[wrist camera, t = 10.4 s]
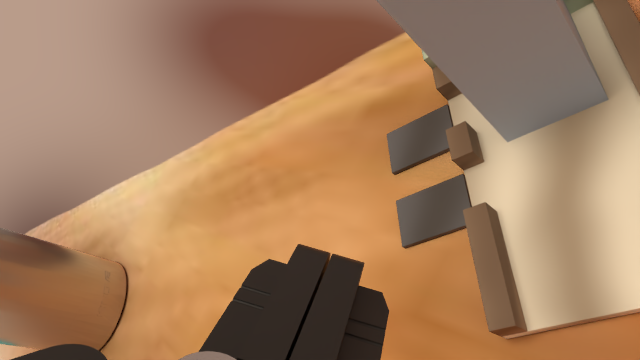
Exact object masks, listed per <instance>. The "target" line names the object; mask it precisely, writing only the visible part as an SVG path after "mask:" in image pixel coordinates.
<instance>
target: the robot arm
mask: <svg viewBox="0 0 640 360" xmlns="http://www.w3.org/2000/svg"><path fill="white" fill-rule="evenodd" d="M329 260H330V261H329ZM363 267H364V263H363V262H360V261H356V260H353V259H350V258H346V257H343V256H339V255H336V254H332V256H331V258H330V253H328V252H325V251H322V250H318V249H315V248H311V247H308V246H304V245H301V244H298V245H297V247H296V249H295V251H294V252H293V254H292V256H291V258H290V260H289V262H288V264H284V263H281V262H278V261H274V260H271V259H268V260H267V261H265V262H263V263H262V264H260V265H258V266H257V267H255V268H253V269H252V270H251V271H250V273H249V274H248V276H247V278H246V279H245V281H244V282H243V284H242V286H241V288H239V290H238V291H237V293H236V295H235V296H234V298H233V301H231V302H230V304H229V305H228V307H227V309H226V310H225V312H224V313H223V315H222V316H221V318H220V319H219V321H218V323H217V324H216V326H215V327H214V329H213V330H212V332H211V333H210V335H209V337H208V338H207V340H206V341H205V343H204V344H203V346H202V347H201V349H200V350H199V352H197V353H192V354H190V355H187V356H185V357H183V358H181V359H179V360H380V359H381V353H382V346H383V342H384V336H385V330H386V325H387V319H388V314H389V310H388V307H387V304H386V302H385V299H384V296H383V293H382V292H379V291H375V290H372V289H369V288H365V287H362V286H359V282H360V278H361V274H362V271H363ZM125 295H126V275H125V271H124V269H123V266H122V265H121V264H120V263H118V262H114V261H111V260H108V259H104V258H101V257H97V256H94V255H91V254H87V253H84V252H81V251H78V250H75V249H71V248H68V247H64V246H61V245H57V244H54V243H51V242H47V241H44V240H40V239H37V238H34V237H30V236H27V235H23V234H20V233H16V232H13V231H9V230H6V229H3V228H0V344H6V345H13V346H20V347H26V348H33V349H40V350H39V351H36V352H33V353H30V354H27V355H24V356H21V357H17V358H14V359H11V360H107V359H106V357H105V356H104V355H103V354H102V353H101V352H100V351H99V350H100V349H101V347H102V346H103V345H104V344H105V343H106V342H107V340H108V339H109V337H110V336H111V334H112V332H113V330H114V329H115V327H116V324H117V322H118V320H119V318H120V315H121V312H122V308H123V305H124V300H125Z"/></svg>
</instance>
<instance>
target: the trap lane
mask: <svg viewBox="0 0 640 360" xmlns="http://www.w3.org/2000/svg"><path fill="white" fill-rule="evenodd" d="M563 1H564V2H565V4H566V6H567V8H568V10H569V12H570V14H571V16H572V19H573V21H574V23H575V25H576V27H577V30H578V32H579V34H580V36H581V39H582V41H583V43H584V45H585V48H586V50H587V52H588V54H589V57H590V59H591V61H592V63H593V65H594V68H595V70H596V72H597V74H598V77H599V79H600V81H601V83H602V86H603V88H604V90H605V92H606V95H607V97H608V99H609V100H607V101H605V102H602V103H600V104H597V105H595V106H593V107H590V108H588V109H586V110H583V111H581V112H578V113H576V114H574V115H571V116H569V117H566V118H564V119H562V120H559V121H557V122H555V123H552V124H550V125H547V126H545V127H543V128H540V129H538V130H535V131H533V132H531V133H528V134H526V135H524V136H521V137H519V138H516V139H514V140H512V141H509V142H507V141H506V140H505V139H504V138H503V137H502V136H501V135H500V134H499V133H498V132H497V130H496V129H495V128H494V127H493V126H492V125H491V124H490V123H489V122H488V121H487V120H486V119H485V117H484V116H483V115H482V114H481V113H480V112H479V111H478V110H477V109H476V108H475V107H474V106H473V104H472V103H471V102H470V101H469V100H468V99H467V98H466V97H465V96H464V95H463V94H462V93H461V91H460V90H459V89H458V88H457V87H456V86H455V85H454V84H453V83H452V82H451V81H450V80H449V78H448V77H447V76H446V75H445V74H444V73H443V72H442V71H441V70H440V69H439V68H438V67H437V65H436V64H435V63H434V62H433V61H432V60H431V59H430V58H429V57H428V56H427V55H426V54H425V52H424V51H423V50H422V54H423V59H424V61H425V62H426V63H427V64H428V65H429V66H430V67H431V68H432V70H433V75H434V80H435V84H436V89H437V90H438V91H439V92H440V93H441V94H442V95H443V96H444V97H445V98H446V99H447V100H448V103H449V106H448V105H445V106H443V107H441V108H439V109H437V110H435V111H433V112H431V113H429V114H427V115H425V116H423V117H421V118H419V119H417V120H414V121H412V122H410V123H408V124H406V125H404V126H402V127H400V128H398V129H396V130H394V131H392V132H390V133H388V134H387V140H388V147H389V154H390V161H391V168H392V173H393V174H394V175H395V174H398V173H400V172H402V171H404V170H407V169H409V168H411V167H414V166H416V165H418V164H420V163H423V162H425V161H427V160H430V159H432V158H434V157H436V156H439V155H441V154H443V153H446V152H448V151H450V154H451V158H452V161H453V162H455V163H456V164H457V165H458V166H459V167H460V168H462V169H463V170H464V173H465V175H464V174H462V175H459V176H457V177H454V178H452V179H449V180H447V181H444V182H442V183H439V184H437V185H434V186H432V187H429V188H427V189H424V190H422V191H419V192H417V193H414V194H412V195H410V196H407V197H405V198H402V199H400V200H397V201H396V204H397V211H398V219H399V226H400V233H401V240H402V247H404V248H408V247H411V246H414V245H417V244H419V243H422V242H425V241H428V240H431V239H434V238H437V237H440V236H443V235H446V234H449V233H452V232H455V231H458V230H461V229H463V228H466V227H467V232H468V237H469V241H470V246H471V251H472V255H473V260H474V264H475V269H476V274H477V278H478V283H479V287H480V292H481V297H482V301H483V306H484V311H485V315H486V320H487V324H488V329H489V332H492V333H494V334H497V335H499V336H501V337H504V338H506V339H509V338H514V337H519V336H524V335H529V334H533V333H538V332H543V331H548V330H553V329H558V328H563V327H568V326H573V325H578V324H583V323H588V322H593V321H598V320H603V319H607V318H612V317H617V316H622V315H627V314H632V313H637V312H640V23H639V21H638V19H637V17H636V16H635V14H634V12H633V10H632V8H631V6H630V5H629V3H628V1H627V0H563Z"/></svg>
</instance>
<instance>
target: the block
mask: <svg viewBox="0 0 640 360" xmlns="http://www.w3.org/2000/svg"><path fill="white" fill-rule="evenodd" d="M377 1H378V2H379V4H380V5H381V6H382V7H383V8H384V9H385V10H386V11H387V12H388V13H389V15H390V16H391V17H392V18H393V19H394V20H395V21H396V22H397V23H398V24H399V25H400V26H401V27H402V29H403V30H404V31H405V32H406V33H407V34H408V35H409V36H410V37H411V38H412V39H413V41H414V42H415V43H416V44H417V45H418V46H419V47H420V48H421V49H422V50H423V51H424V52H425V54H426V55H427V56H428V57H429V58H430V59H431V60H432V61H433V62H434V63H435V64H436V65H437V67H438V68H439V69H440V70H441V71H442V72H443V73H444V74H445V75H446V76H447V77H448V78H449V80H450V81H451V82H452V83H453V84H454V85H455V86H456V87H457V88H458V89H459V90H460V91H461V93H462V94H463V95H464V96H465V97H466V98H467V99H468V100H469V101H470V102H471V103H472V104H473V106H474V107H475V108H476V109H477V110H478V111H479V112H480V113H481V114H482V115H483V116H484V117H485V119H486V120H487V121H488V122H489V123H490V124H491V125H492V126H493V127H494V128H495V129H496V130H497V132H498V133H499V134H500V135H501V136H502V137H503V138H504V139H505V140H506V141H507V142H509V141H512V140H514V139H516V138H519V137H521V136H524V135H526V134H528V133H531V132H533V131H535V130H538V129H540V128H543V127H545V126H547V125H550V124H552V123H555V122H557V121H559V120H562V119H564V118H566V117H569V116H571V115H574V114H576V113H578V112H581V111H583V110H586V109H588V108H590V107H593V106H595V105H597V104H600V103H602V102H605V101H607V100H609V99H608V97H607V95H606V92H605V90H604V88H603V86H602V83H601V81H600V79H599V77H598V74H597V72H596V70H595V68H594V65H593V63H592V61H591V59H590V57H589V54H588V52H587V50H586V48H585V45H584V43H583V41H582V39H581V36H580V34H579V32H578V30H577V27H576V25H575V23H574V21H573V19H572V16H571V14H570V12H569V10H568V8H567V6H566V4H565V2H564V1H563V0H377Z"/></svg>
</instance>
